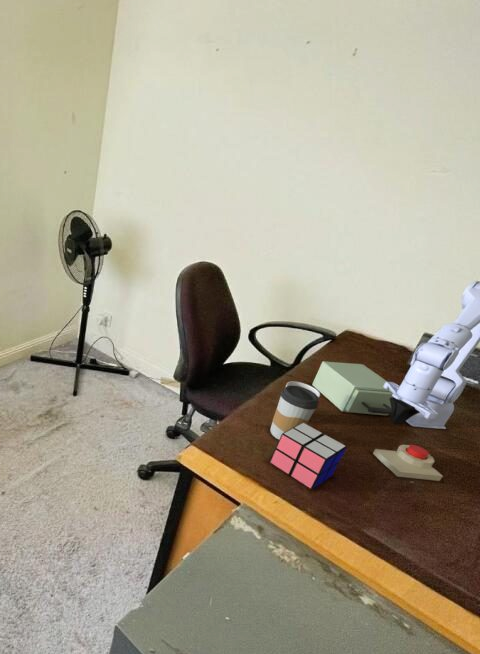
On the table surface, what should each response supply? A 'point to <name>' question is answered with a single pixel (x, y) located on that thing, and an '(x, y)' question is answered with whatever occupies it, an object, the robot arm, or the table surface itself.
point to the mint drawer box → (345, 382)
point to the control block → (408, 464)
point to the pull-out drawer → (370, 402)
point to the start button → (417, 452)
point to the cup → (304, 387)
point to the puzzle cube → (307, 455)
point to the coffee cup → (293, 409)
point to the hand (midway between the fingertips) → (395, 422)
